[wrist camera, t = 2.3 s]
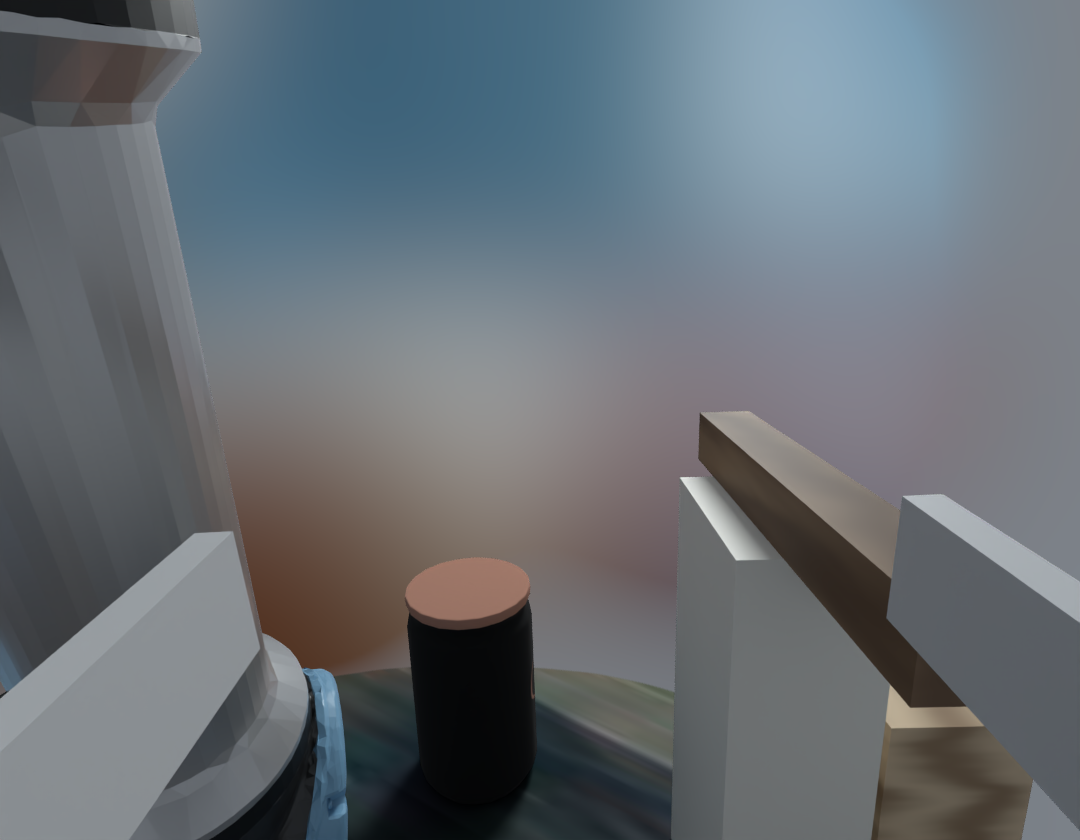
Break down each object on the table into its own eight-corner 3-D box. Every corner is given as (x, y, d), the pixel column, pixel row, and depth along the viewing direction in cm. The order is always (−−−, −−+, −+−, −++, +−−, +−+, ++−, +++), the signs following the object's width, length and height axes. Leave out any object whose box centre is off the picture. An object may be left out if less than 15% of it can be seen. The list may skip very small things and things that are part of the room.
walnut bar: (909, 707, 18) (923, 607, 18) (698, 458, 44) (699, 412, 43) (1023, 705, 18) (1042, 603, 18) (746, 457, 44) (748, 411, 43)
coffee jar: (560, 771, 54) (555, 591, 49) (453, 835, 48) (437, 636, 44) (500, 704, 62) (491, 546, 58) (403, 751, 56) (385, 579, 52)
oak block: (857, 1000, 36) (891, 728, 31) (780, 823, 48) (797, 606, 43) (989, 998, 36) (1043, 725, 31) (880, 822, 48) (908, 603, 43)
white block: (713, 1023, 35) (736, 560, 28) (671, 837, 47) (679, 477, 40) (848, 1021, 35) (905, 556, 28) (772, 835, 47) (799, 474, 40)
